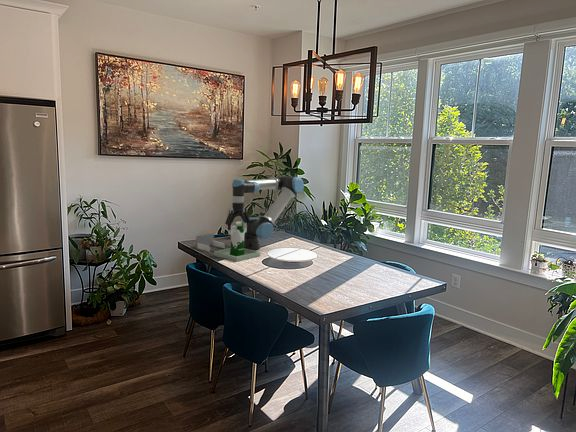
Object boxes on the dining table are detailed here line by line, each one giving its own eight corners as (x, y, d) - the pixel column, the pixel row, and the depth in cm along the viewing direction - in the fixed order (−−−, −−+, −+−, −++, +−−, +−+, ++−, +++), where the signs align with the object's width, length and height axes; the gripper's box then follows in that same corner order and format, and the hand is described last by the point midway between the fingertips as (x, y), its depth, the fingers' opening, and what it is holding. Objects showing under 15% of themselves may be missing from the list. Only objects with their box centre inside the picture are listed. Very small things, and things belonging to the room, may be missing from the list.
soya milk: (237, 256, 280) (237, 227, 277) (227, 254, 286) (228, 225, 283) (246, 254, 287) (247, 225, 284) (237, 252, 293) (237, 224, 290)
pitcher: (227, 238, 343) (227, 221, 341) (246, 236, 354) (246, 220, 352) (234, 240, 334) (234, 223, 332) (253, 238, 345) (253, 222, 343)
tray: (259, 256, 288) (260, 252, 288) (236, 262, 271) (236, 257, 271) (237, 250, 302) (237, 246, 302) (214, 255, 285) (214, 251, 285)
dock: (225, 248, 309) (225, 236, 307) (208, 251, 297) (208, 238, 295) (212, 244, 317) (212, 233, 316) (196, 248, 305) (196, 235, 304)
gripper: (247, 200, 293) (246, 230, 296) (220, 202, 274) (219, 234, 277) (255, 201, 288) (254, 231, 291) (228, 204, 269) (227, 236, 272)
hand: (237, 233), depth 284 cm, fingers open, 13 cm apart
